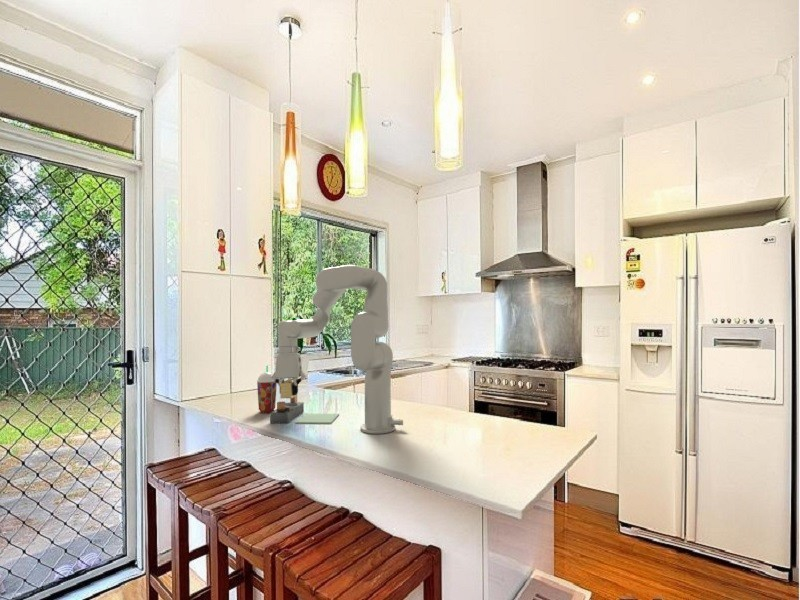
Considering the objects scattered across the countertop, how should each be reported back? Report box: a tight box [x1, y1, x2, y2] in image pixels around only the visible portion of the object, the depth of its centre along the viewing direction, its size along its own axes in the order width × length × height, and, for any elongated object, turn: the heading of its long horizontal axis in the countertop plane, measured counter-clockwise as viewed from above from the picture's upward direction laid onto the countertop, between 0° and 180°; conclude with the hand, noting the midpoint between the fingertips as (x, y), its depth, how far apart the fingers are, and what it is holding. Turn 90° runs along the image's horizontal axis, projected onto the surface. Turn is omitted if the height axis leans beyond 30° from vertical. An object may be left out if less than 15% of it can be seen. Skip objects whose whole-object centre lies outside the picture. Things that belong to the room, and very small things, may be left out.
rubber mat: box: [295, 413, 340, 425], centre depth 163 cm, size 14×14×1 cm
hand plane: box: [269, 394, 305, 425], centre depth 167 cm, size 7×20×9 cm, turn 176°
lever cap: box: [279, 379, 296, 399], centre depth 167 cm, size 4×7×7 cm, turn 176°
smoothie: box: [256, 365, 278, 414], centre depth 177 cm, size 8×8×20 cm
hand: (288, 394), depth 167 cm, fingers closed on lever cap, 4 cm apart
